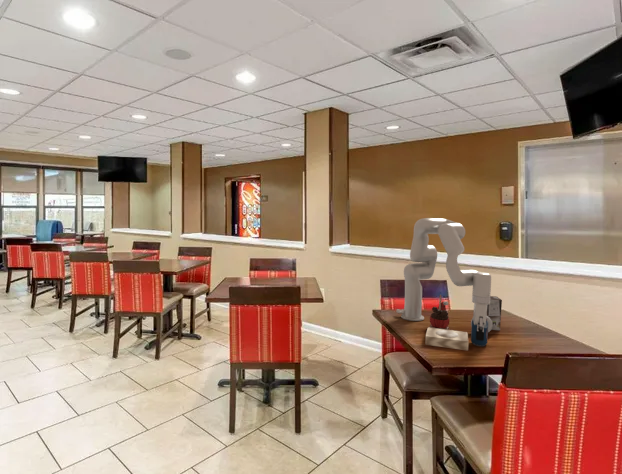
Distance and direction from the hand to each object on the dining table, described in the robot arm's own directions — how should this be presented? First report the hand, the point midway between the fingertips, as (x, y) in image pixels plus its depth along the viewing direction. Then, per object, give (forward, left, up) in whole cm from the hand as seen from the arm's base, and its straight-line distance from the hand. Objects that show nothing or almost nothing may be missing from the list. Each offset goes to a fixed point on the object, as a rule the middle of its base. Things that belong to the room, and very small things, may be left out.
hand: (479, 337), depth 169 cm
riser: (-14, -4, -3) cm, 15 cm away
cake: (-18, +16, -4) cm, 24 cm away
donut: (+2, +17, -3) cm, 17 cm away
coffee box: (+8, +31, -4) cm, 32 cm away
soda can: (0, 0, -3) cm, 3 cm away
